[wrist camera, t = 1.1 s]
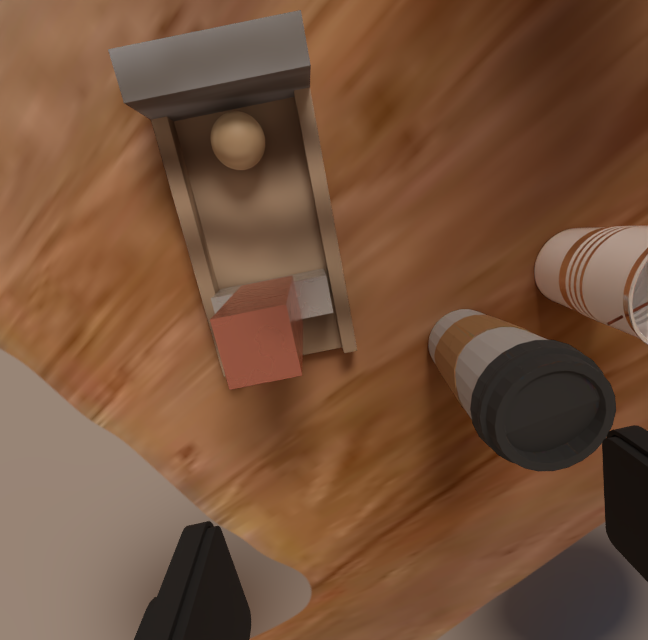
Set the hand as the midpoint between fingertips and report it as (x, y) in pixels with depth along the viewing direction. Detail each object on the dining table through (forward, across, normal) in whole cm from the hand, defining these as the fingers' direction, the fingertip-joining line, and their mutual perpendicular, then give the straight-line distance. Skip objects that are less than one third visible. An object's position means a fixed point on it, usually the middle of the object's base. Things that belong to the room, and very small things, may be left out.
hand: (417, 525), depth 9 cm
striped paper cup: (+28, -22, +2) cm, 35 cm away
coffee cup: (+28, -11, +7) cm, 31 cm away
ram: (+26, +5, -2) cm, 26 cm away
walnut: (+26, +4, -14) cm, 30 cm away
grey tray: (+27, +5, -8) cm, 29 cm away
